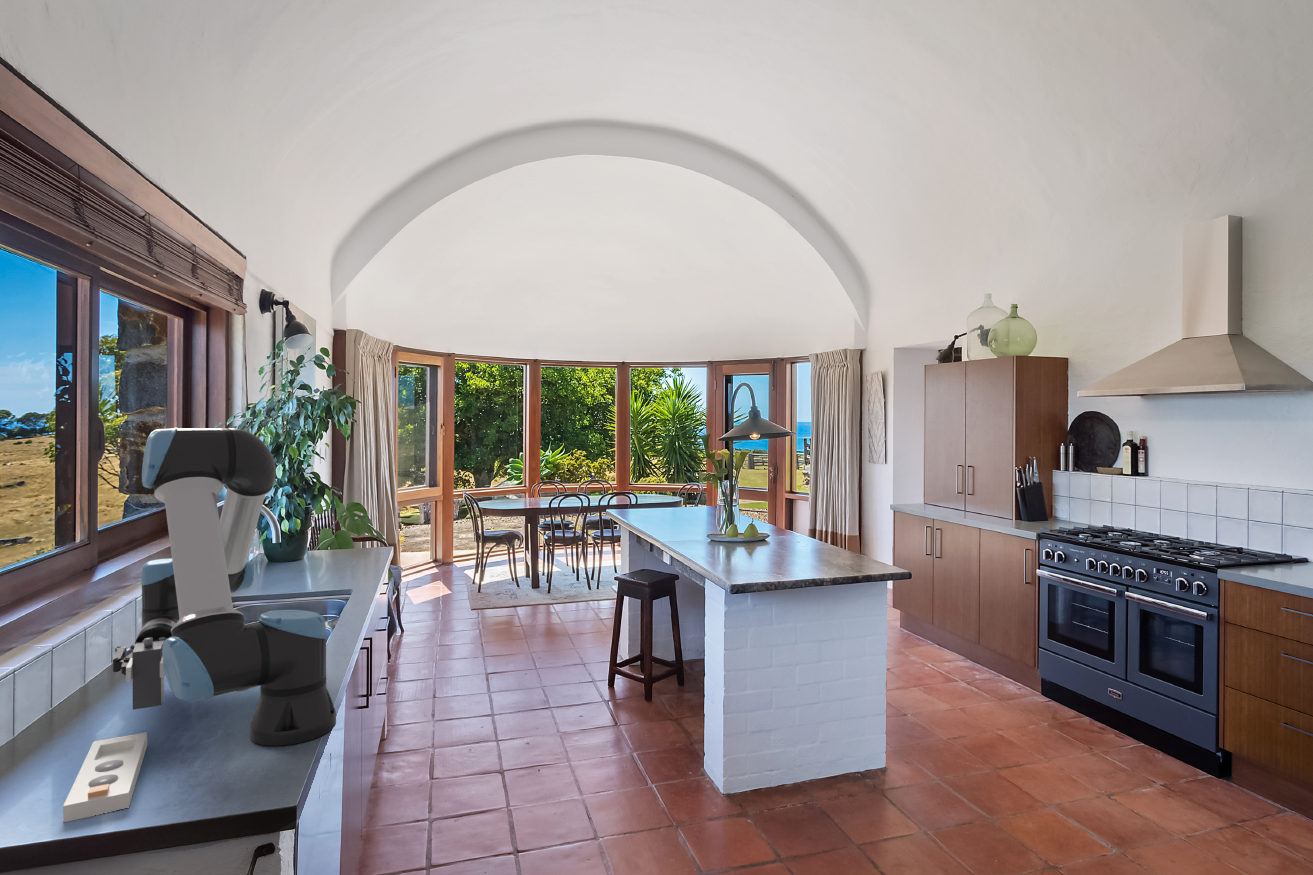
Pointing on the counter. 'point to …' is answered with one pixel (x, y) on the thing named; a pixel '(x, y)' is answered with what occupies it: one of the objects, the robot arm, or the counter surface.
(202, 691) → the robot arm
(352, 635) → the counter surface
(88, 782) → the power strip
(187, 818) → the counter surface
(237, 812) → the counter surface
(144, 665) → the grey block with knob
